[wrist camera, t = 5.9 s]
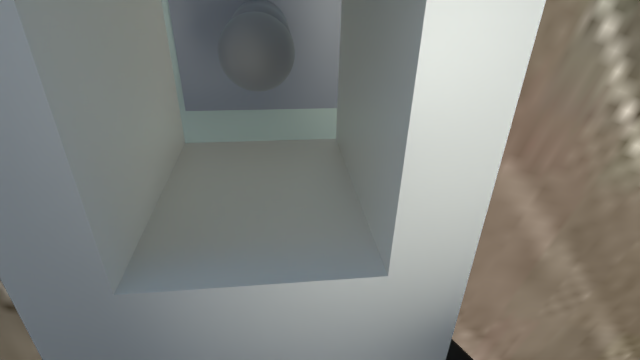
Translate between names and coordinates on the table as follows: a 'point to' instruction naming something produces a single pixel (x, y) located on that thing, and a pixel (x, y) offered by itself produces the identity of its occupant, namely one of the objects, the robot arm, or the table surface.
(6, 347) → the table surface
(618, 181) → the table surface
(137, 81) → the power strip bar
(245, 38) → the post board
